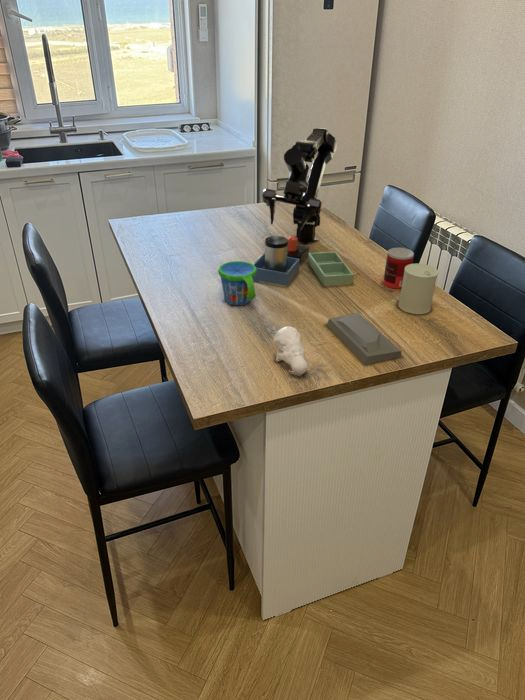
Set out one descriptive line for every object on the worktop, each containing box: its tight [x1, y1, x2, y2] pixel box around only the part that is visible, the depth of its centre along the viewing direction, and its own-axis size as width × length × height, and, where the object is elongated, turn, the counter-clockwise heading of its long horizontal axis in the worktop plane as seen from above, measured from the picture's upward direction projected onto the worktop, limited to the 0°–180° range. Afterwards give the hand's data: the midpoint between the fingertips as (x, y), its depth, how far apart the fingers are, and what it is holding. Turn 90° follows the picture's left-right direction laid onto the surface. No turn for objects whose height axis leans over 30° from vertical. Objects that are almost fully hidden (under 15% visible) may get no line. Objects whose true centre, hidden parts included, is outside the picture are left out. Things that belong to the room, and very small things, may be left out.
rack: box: [307, 250, 355, 286], centre depth 175 cm, size 18×9×4 cm, turn 11°
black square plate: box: [287, 244, 310, 265], centre depth 185 cm, size 10×10×3 cm
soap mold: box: [326, 313, 402, 366], centre depth 141 cm, size 10×20×4 cm, turn 22°
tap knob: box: [285, 235, 299, 252], centre depth 183 cm, size 4×4×4 cm
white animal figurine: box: [273, 325, 309, 377], centre depth 129 cm, size 6×8×12 cm
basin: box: [252, 252, 301, 287], centre depth 172 cm, size 12×12×5 cm
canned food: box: [382, 247, 415, 291], centre depth 166 cm, size 8×8×11 cm
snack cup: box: [217, 260, 257, 306], centre depth 156 cm, size 16×10×10 cm
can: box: [397, 262, 439, 315], centre depth 155 cm, size 9×9×12 cm
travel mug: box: [264, 235, 288, 273], centre depth 170 cm, size 7×7×12 cm
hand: (285, 226), depth 173 cm, fingers open, 9 cm apart
